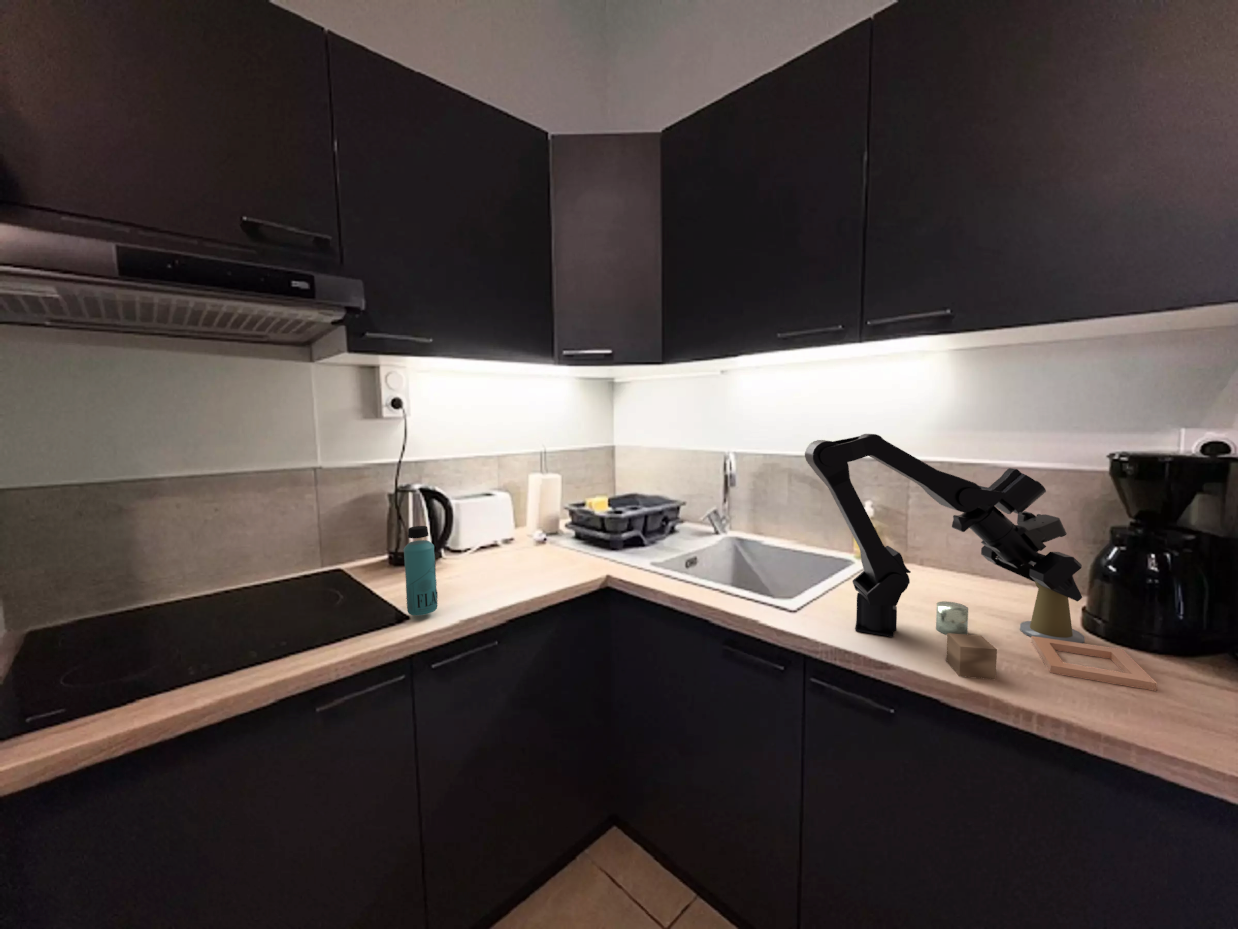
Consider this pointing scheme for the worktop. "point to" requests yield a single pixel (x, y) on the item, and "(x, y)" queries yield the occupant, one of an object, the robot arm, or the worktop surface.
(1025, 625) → the slate coaster
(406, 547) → the beverage bottle
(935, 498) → the robot arm
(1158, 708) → the worktop surface
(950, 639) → the walnut block
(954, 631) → the sage tin
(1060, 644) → the hole frame
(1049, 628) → the olive pepper mill
